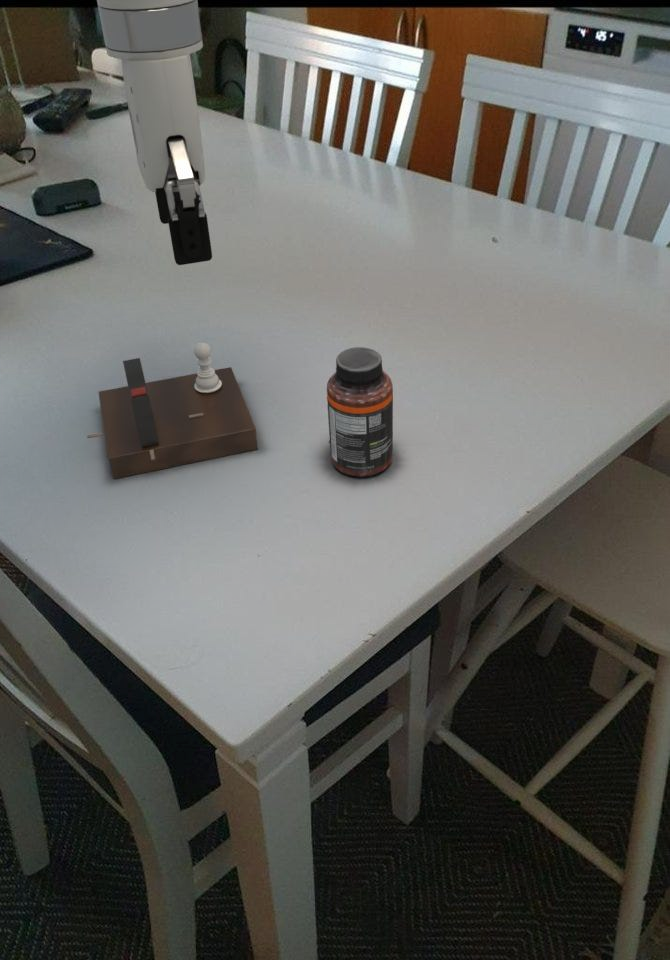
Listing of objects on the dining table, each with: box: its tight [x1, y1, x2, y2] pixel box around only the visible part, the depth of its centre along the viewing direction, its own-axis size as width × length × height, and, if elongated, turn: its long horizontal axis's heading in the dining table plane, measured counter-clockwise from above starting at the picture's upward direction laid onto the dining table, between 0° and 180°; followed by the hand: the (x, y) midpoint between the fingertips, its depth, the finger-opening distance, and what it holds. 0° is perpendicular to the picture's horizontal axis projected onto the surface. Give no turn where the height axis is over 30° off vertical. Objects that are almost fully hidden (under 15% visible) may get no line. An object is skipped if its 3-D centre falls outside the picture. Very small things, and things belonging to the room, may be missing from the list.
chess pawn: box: [193, 341, 222, 393], centre depth 82 cm, size 3×3×5 cm
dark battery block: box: [122, 357, 159, 448], centre depth 77 cm, size 7×2×6 cm, turn 17°
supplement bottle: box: [326, 346, 394, 478], centre depth 74 cm, size 6×6×11 cm
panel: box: [86, 366, 259, 480], centre depth 81 cm, size 16×14×3 cm
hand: (185, 240), depth 74 cm, fingers open, 9 cm apart
